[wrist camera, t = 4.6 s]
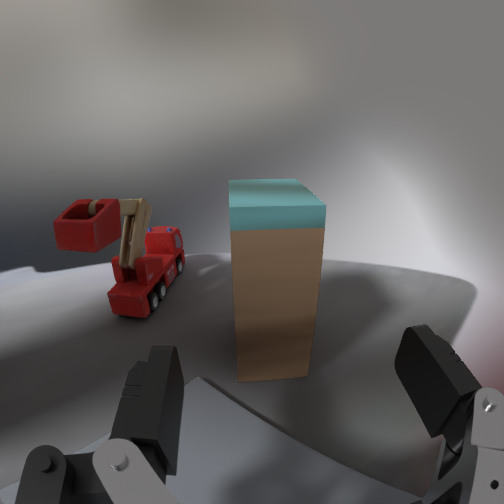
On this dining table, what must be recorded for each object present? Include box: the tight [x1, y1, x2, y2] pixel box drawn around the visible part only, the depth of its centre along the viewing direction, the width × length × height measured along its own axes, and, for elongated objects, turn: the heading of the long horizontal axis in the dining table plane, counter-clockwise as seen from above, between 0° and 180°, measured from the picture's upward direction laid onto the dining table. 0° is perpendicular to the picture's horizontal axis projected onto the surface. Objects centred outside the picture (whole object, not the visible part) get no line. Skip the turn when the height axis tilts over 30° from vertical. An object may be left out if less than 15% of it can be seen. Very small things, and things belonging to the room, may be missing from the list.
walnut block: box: [229, 179, 326, 382], centre depth 17 cm, size 6×4×10 cm, turn 4°
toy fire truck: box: [53, 198, 185, 318], centre depth 22 cm, size 3×14×10 cm, turn 173°
